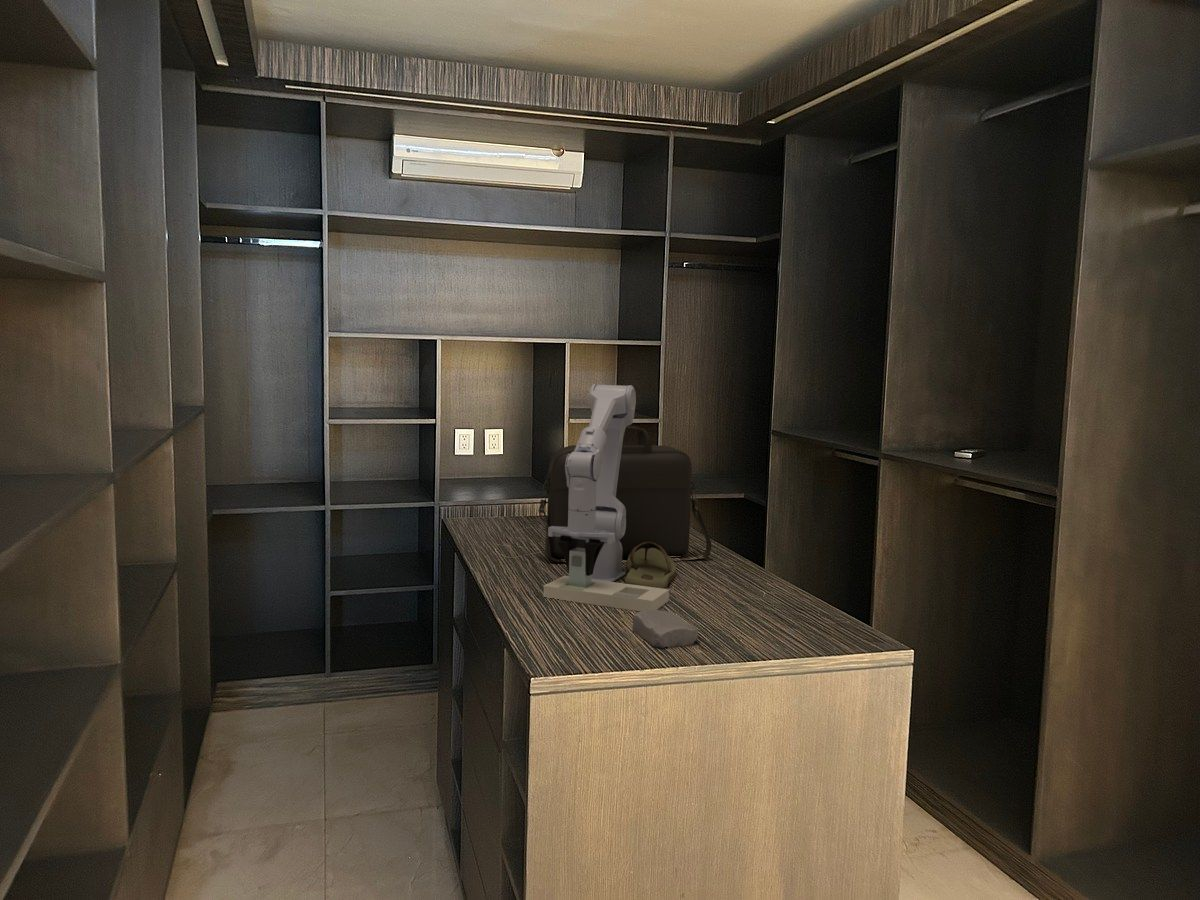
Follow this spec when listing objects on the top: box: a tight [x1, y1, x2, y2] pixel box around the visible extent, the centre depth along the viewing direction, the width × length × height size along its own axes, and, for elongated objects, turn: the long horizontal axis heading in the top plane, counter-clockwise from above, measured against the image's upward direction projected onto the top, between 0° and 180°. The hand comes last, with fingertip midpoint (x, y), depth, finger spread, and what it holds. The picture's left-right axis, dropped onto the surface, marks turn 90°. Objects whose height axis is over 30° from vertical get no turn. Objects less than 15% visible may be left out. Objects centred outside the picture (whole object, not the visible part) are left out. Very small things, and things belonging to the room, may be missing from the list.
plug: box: [568, 548, 592, 588], centre depth 195 cm, size 4×4×9 cm
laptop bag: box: [538, 424, 712, 563], centre depth 232 cm, size 43×13×33 cm, turn 102°
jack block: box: [543, 575, 670, 612], centre depth 193 cm, size 10×24×3 cm, turn 67°
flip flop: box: [624, 542, 677, 589], centre depth 211 cm, size 29×12×8 cm, turn 172°
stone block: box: [631, 609, 699, 649], centre depth 169 cm, size 12×5×10 cm
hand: (580, 573), depth 195 cm, fingers closed on plug, 4 cm apart
